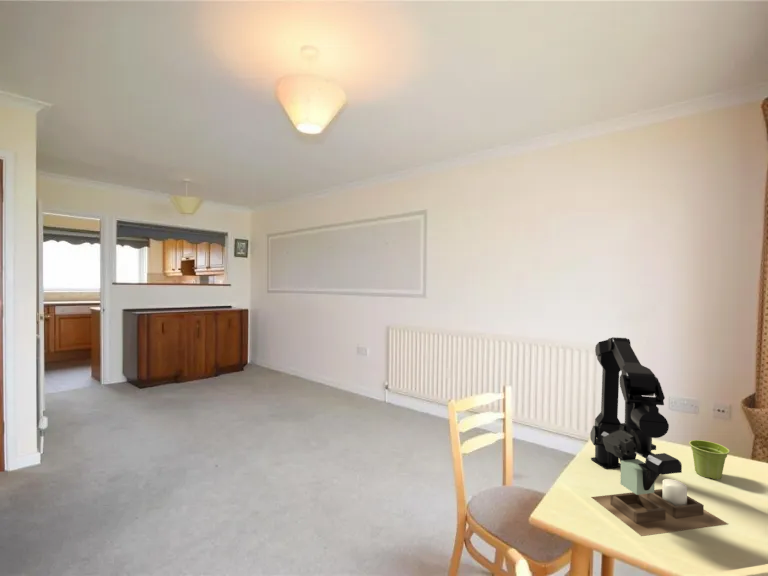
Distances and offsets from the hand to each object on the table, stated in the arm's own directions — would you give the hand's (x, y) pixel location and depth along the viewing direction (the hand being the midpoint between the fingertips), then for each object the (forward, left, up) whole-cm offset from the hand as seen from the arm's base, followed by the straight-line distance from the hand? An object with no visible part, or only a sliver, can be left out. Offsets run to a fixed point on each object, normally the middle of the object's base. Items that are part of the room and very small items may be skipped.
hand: (637, 484), depth 97 cm
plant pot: (-14, +38, -8) cm, 42 cm away
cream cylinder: (0, +11, -7) cm, 13 cm away
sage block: (0, 0, -1) cm, 1 cm away
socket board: (0, +5, -8) cm, 10 cm away
